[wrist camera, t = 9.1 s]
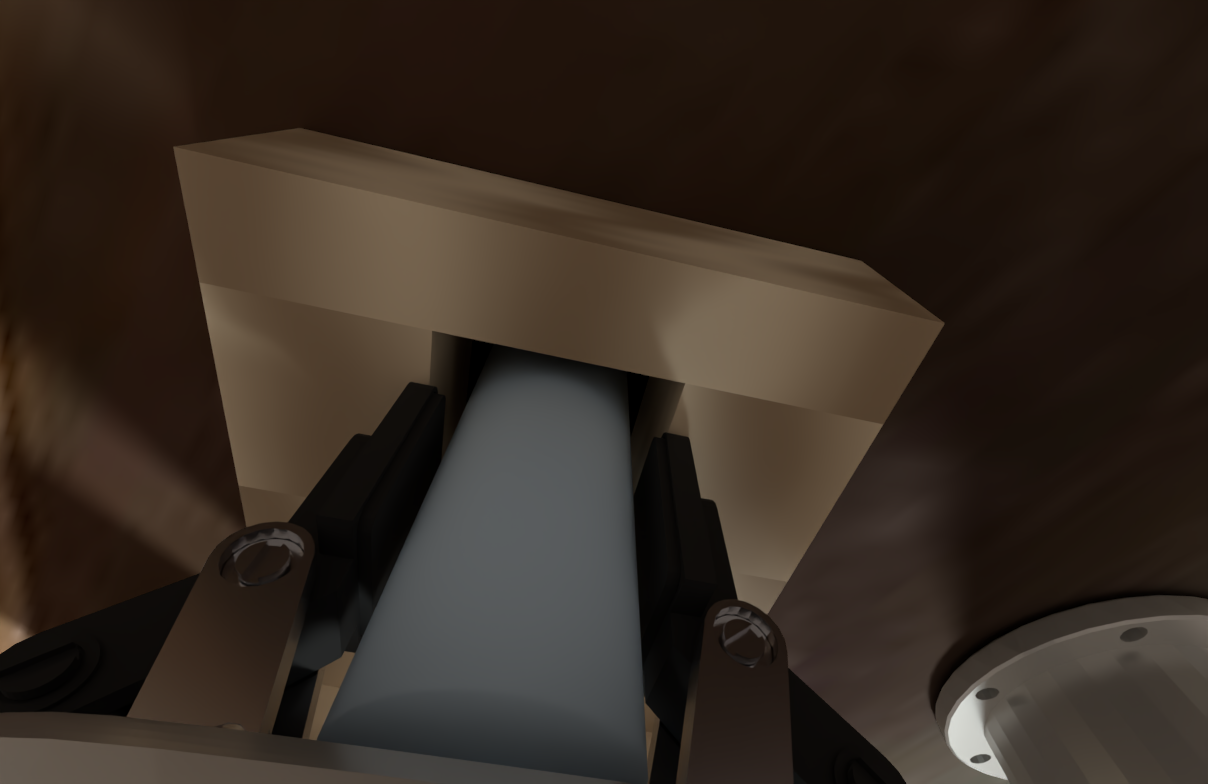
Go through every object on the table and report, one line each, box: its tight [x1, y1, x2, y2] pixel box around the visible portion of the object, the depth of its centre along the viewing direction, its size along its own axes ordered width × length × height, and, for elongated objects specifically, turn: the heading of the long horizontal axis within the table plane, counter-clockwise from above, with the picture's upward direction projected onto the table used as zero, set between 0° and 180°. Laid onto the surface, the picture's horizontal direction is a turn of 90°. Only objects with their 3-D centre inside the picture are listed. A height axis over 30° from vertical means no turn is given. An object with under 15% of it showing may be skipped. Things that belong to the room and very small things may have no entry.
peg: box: [317, 344, 648, 784], centre depth 11 cm, size 4×4×10 cm
